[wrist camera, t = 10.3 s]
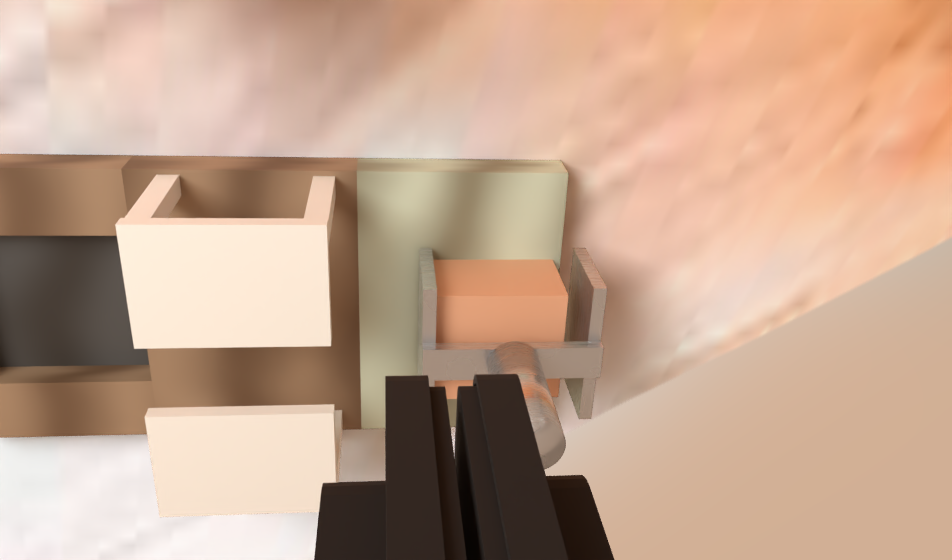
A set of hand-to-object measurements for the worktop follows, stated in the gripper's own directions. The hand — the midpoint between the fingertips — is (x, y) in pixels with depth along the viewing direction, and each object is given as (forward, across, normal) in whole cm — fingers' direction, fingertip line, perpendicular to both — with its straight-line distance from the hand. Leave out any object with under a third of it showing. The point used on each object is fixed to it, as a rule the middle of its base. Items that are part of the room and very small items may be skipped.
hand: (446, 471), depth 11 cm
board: (+31, +7, +13) cm, 34 cm away
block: (+29, -5, +13) cm, 32 cm away
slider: (+29, -5, +13) cm, 32 cm away
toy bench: (+29, +7, +13) cm, 33 cm away
